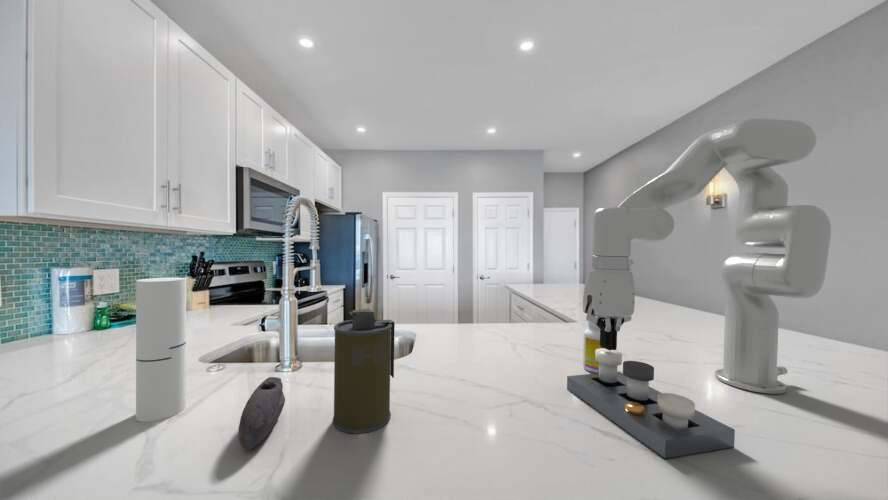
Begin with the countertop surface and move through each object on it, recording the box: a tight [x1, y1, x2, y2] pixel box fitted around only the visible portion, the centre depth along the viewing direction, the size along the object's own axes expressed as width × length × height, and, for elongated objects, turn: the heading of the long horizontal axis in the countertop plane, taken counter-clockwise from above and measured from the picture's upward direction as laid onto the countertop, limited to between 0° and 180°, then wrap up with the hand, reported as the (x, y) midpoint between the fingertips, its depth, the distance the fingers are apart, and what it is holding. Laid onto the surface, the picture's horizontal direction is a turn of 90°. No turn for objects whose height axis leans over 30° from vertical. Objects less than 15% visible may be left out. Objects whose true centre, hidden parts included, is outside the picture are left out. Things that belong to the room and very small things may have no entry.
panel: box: [566, 371, 736, 461], centre depth 64 cm, size 25×14×4 cm, turn 14°
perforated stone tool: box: [238, 376, 286, 450], centre depth 56 cm, size 15×5×7 cm, turn 10°
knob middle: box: [622, 360, 655, 400], centre depth 64 cm, size 5×5×6 cm
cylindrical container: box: [135, 277, 187, 423], centre depth 62 cm, size 7×7×25 cm
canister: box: [332, 308, 396, 434], centre depth 61 cm, size 11×10×20 cm
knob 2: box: [657, 392, 696, 430], centre depth 56 cm, size 5×5×6 cm
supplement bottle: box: [582, 321, 605, 374], centre depth 87 cm, size 7×7×13 cm
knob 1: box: [595, 348, 623, 383], centre depth 72 cm, size 5×5×6 cm
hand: (608, 348), depth 72 cm, fingers closed
